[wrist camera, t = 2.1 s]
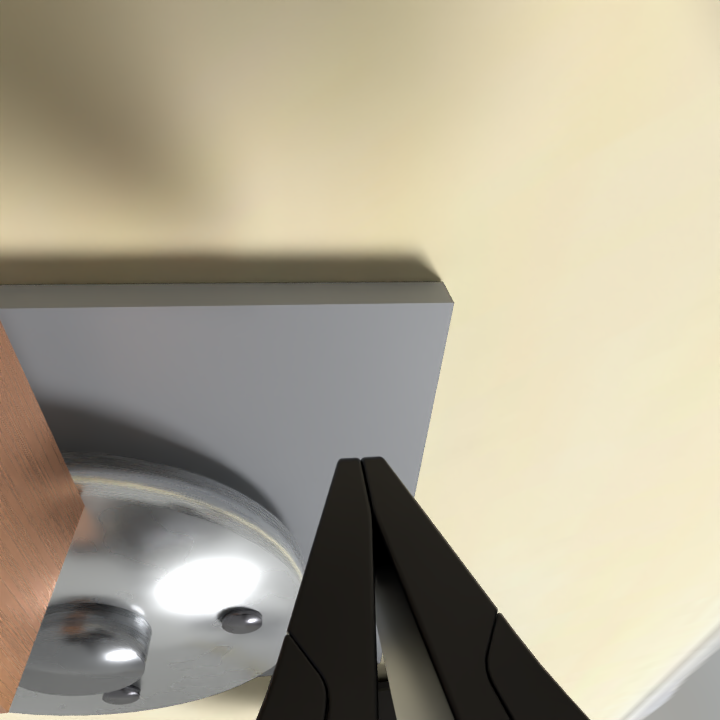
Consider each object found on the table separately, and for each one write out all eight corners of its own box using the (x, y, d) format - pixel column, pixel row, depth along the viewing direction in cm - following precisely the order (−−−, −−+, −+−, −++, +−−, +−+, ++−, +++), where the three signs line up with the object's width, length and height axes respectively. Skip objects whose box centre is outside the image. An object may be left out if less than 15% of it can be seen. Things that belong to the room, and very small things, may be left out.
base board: (376, 640, 24) (381, 674, 23) (-72, 688, 22) (-92, 729, 21) (443, 281, 12) (460, 314, 11) (-560, 288, 10) (-679, 333, 8)
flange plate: (306, 655, 20) (313, 828, 16) (-38, 693, 19) (-129, 897, 15) (303, 280, 10) (319, 502, 6) (-500, 285, 8) (-1326, 613, 4)
